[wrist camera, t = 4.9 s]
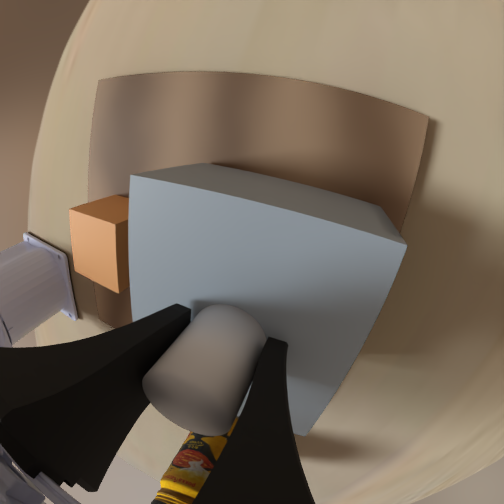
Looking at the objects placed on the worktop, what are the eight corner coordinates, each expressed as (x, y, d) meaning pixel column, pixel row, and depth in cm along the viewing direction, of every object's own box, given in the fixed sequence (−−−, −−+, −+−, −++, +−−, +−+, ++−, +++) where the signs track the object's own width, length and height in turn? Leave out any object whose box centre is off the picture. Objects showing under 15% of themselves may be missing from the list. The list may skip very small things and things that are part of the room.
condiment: (213, 396, 22) (148, 503, 11) (289, 438, 21) (252, 545, 11) (188, 420, 25) (134, 501, 15) (252, 455, 25) (214, 539, 14)
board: (104, 314, 23) (99, 319, 22) (106, 81, 14) (98, 79, 14) (317, 400, 18) (316, 408, 18) (424, 118, 10) (429, 116, 10)
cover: (187, 318, 18) (101, 415, 10) (203, 162, 14) (47, 195, 5) (319, 363, 16) (288, 497, 8) (380, 206, 12) (447, 314, 4)
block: (115, 249, 18) (74, 270, 14) (114, 194, 16) (69, 208, 13) (158, 265, 17) (118, 293, 14) (161, 206, 16) (115, 224, 12)
